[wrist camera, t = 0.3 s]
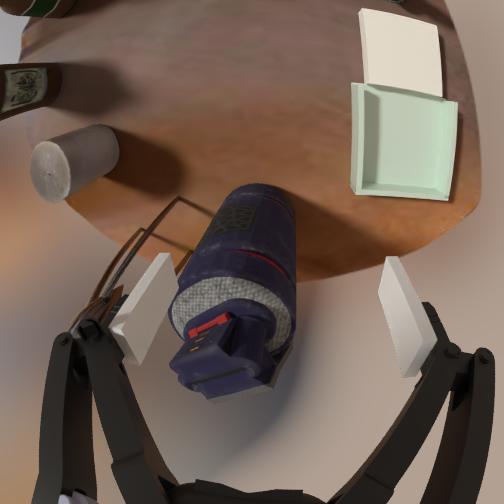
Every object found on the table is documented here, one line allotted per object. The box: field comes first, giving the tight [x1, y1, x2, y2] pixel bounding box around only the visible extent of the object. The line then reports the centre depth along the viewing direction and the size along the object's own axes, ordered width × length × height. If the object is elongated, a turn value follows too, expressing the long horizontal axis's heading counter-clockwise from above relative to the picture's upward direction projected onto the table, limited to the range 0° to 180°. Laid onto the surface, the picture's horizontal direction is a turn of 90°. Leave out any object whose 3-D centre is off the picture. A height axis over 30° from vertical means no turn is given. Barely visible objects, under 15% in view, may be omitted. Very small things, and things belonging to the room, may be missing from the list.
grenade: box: [168, 183, 296, 404], centre depth 32 cm, size 14×12×30 cm
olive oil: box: [0, 63, 61, 121], centre depth 23 cm, size 11×11×25 cm
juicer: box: [65, 196, 192, 338], centre depth 35 cm, size 10×11×30 cm
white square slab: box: [358, 8, 442, 97], centre depth 26 cm, size 12×12×2 cm
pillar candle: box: [30, 124, 120, 203], centre depth 35 cm, size 10×10×15 cm
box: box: [350, 83, 458, 201], centre depth 33 cm, size 16×16×4 cm
